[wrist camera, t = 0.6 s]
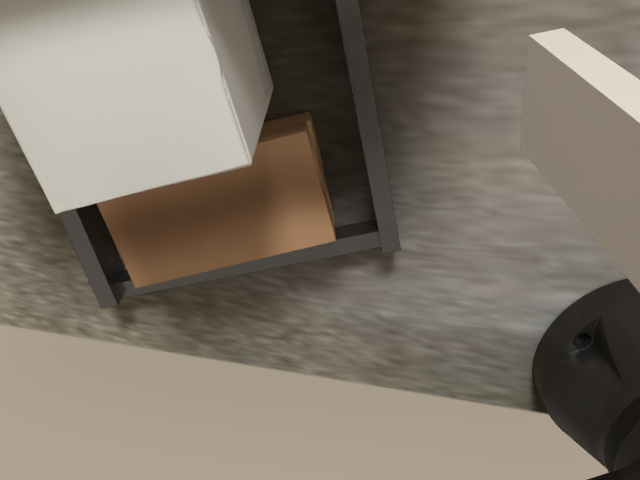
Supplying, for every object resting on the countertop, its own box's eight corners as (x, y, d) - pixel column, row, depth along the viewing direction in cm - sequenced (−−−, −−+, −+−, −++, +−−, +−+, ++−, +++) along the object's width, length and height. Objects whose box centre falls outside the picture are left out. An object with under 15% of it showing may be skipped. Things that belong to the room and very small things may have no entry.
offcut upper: (334, 221, 37) (335, 240, 34) (148, 265, 38) (135, 288, 36) (306, 118, 34) (305, 131, 31) (106, 170, 35) (88, 186, 33)
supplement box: (85, -20, 33) (-71, -12, 20) (232, -63, 32) (174, -86, 19) (145, 128, 37) (48, 221, 23) (277, 93, 36) (256, 168, 23)
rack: (394, 231, 40) (450, 408, 24) (114, 286, 42) (-10, 487, 26) (329, -148, 30) (348, -280, 14) (-33, -56, 32) (-384, -80, 16)
